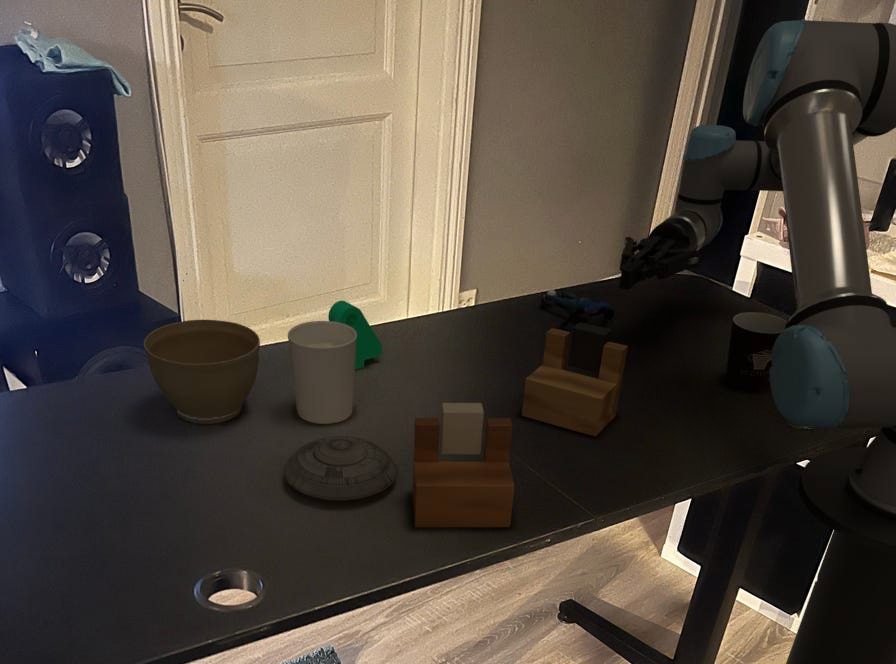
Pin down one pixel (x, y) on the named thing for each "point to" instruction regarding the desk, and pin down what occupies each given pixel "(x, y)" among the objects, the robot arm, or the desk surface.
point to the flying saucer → (340, 469)
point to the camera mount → (357, 331)
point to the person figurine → (577, 305)
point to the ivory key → (461, 428)
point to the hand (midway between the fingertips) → (624, 280)
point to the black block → (588, 346)
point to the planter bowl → (204, 366)
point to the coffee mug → (752, 350)
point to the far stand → (574, 388)
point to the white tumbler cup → (323, 370)
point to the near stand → (462, 480)
